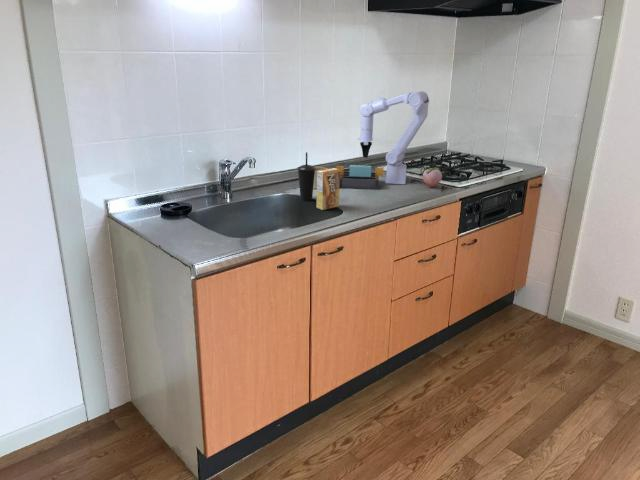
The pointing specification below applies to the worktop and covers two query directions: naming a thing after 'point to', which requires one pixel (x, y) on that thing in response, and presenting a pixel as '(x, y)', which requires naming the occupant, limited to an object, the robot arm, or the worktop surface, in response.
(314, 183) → the flower pot
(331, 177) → the candy box
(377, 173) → the rack
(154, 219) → the worktop surface
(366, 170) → the block
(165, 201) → the worktop surface
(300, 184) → the drinking cup
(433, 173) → the decorative fruit
